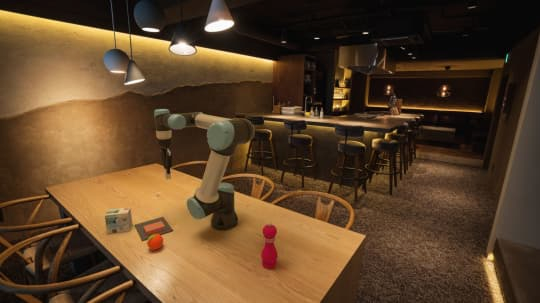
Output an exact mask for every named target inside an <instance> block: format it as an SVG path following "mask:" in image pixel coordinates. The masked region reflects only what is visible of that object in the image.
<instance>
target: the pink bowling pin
mask: <svg viewBox="0 0 540 303" xmlns="http://www.w3.org/2000/svg"><path fill="white" fill-rule="evenodd" d="M262 234H263V240H264V241H263V242H264V246H263V248H262V250H261V252H260V258H261V265H262V267H263V268H264V269H266V270H272V269H274V268H275V267H277V263H278V262H277V259H278V257H279V254H278V251H277V248H276V245H275V242H276V240H277V239H276V235H277V234H278V229H277V227H276V226H275V225H273V223H272V222H271V221H269V222H267V224H266V225H264V227H263V228H262Z"/></svg>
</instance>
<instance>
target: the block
mask: <svg viewBox="0 0 540 303" xmlns="http://www.w3.org/2000/svg"><path fill="white" fill-rule="evenodd" d="M164 230H165V225H164V224H163V222H162V221H160V222H156V223H153V224H150V225H146V226H144V231H145V233H146V235H147V236H149V235H152V234H155V233H158V232H161V231H164Z"/></svg>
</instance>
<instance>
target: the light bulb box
mask: <svg viewBox="0 0 540 303" xmlns="http://www.w3.org/2000/svg"><path fill="white" fill-rule="evenodd" d="M104 221H105V228H106V234H107V235H109V234H119V233H129V232H130V231H131V230H132V228H133V225H134V224H133V216H132V208H131V207H121V208H112V209H110V208H109V209H108V210H107V212H106V213H105V214H104Z"/></svg>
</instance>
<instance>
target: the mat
mask: <svg viewBox="0 0 540 303" xmlns="http://www.w3.org/2000/svg"><path fill="white" fill-rule="evenodd" d="M160 221H162V222H163V224H164V225H165V230H164V231H161V232H158V233H155V234H160V235H161V236H162V235H165V234H168V233H172V232H174V230H173V228H172V227H171V225H170V223H169V222H167V220H166V219H165V217H164V216H161V217H160V216H159V217H157V218H153V219H150V220H147V221H143V222H139V223H135V224H133V225H134V228H135V229H136V232H137V235H138V236H139V238H140V241H141V242H143V241H147V240H148V238H149V237H150V236H151V235H149V236H147V235H146V233H145V231H144V226H146V225H150V224H153V223H156V222H160ZM152 235H153V234H152Z"/></svg>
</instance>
